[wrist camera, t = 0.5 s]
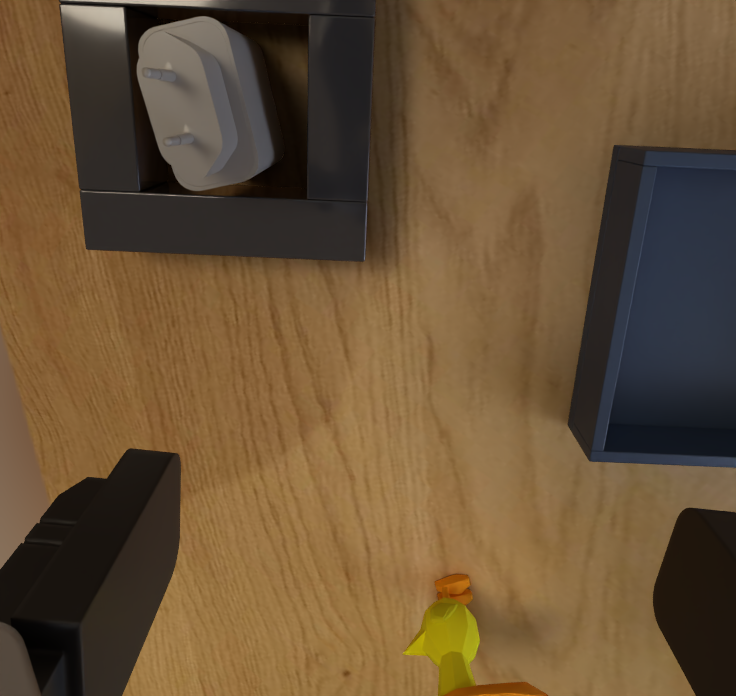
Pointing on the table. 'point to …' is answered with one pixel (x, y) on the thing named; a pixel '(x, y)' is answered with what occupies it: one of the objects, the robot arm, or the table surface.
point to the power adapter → (209, 102)
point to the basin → (662, 313)
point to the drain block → (231, 202)
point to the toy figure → (457, 643)
